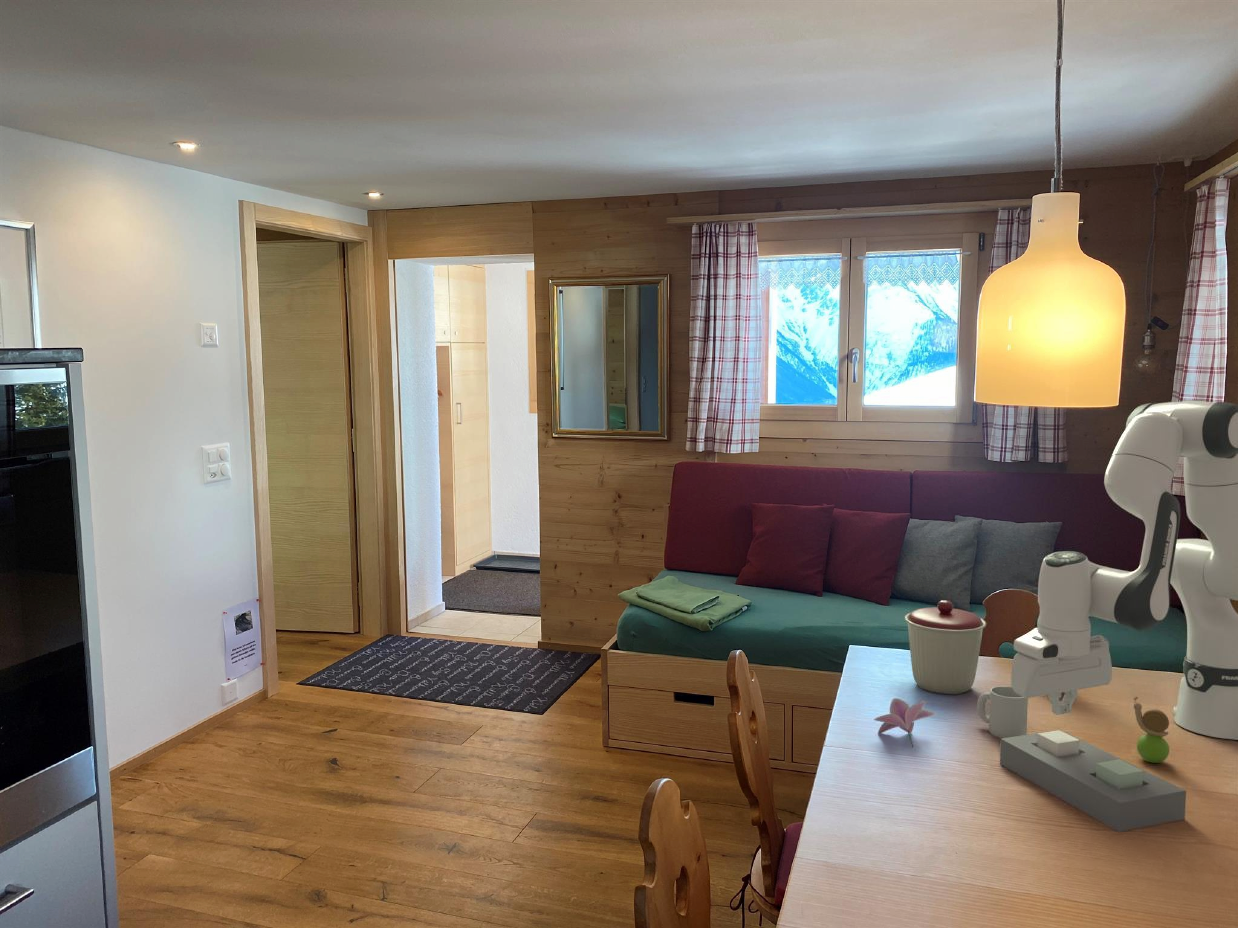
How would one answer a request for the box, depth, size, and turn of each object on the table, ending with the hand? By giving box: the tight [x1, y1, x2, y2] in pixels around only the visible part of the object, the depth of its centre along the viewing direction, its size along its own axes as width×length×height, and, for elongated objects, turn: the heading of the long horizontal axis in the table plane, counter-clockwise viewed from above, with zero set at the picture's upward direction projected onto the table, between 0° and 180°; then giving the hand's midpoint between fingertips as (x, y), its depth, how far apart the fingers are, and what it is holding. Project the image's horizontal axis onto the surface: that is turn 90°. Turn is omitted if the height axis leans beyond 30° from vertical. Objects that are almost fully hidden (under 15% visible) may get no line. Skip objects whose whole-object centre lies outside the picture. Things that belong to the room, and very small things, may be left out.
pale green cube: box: [1096, 758, 1143, 790], centre depth 160 cm, size 5×5×5 cm
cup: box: [976, 685, 1029, 739], centre depth 193 cm, size 7×10×9 cm
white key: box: [1037, 729, 1080, 757], centre depth 173 cm, size 5×5×5 cm
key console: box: [999, 729, 1187, 833], centre depth 167 cm, size 14×28×5 cm, turn 18°
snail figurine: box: [1133, 696, 1170, 764], centre depth 178 cm, size 5×6×12 cm
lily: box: [873, 697, 936, 749], centre depth 189 cm, size 12×12×10 cm
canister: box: [904, 599, 987, 695], centre depth 220 cm, size 18×18×21 cm
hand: (1061, 712), depth 173 cm, fingers closed
